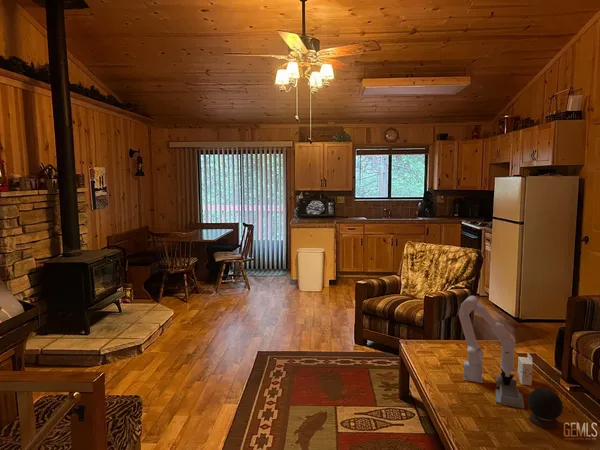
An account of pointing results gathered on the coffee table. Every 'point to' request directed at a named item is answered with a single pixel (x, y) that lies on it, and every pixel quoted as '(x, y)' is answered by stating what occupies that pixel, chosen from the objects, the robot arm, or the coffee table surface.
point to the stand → (509, 396)
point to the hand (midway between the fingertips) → (506, 384)
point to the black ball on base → (545, 408)
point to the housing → (500, 381)
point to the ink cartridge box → (525, 370)
